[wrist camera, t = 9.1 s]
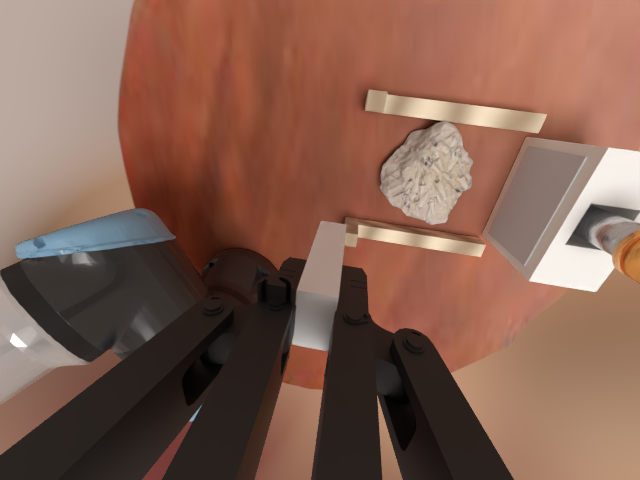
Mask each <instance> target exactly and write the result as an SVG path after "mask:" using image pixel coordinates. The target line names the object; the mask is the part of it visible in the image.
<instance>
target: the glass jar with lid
mask: <svg viewBox="0 0 640 480" xmlns="http://www.w3.org/2000/svg"><path fill="white" fill-rule="evenodd" d="M573 234H574V235H576V236H578V237H580V238H582V239H583V240H585V241H587V242H589V243H590V244H592V245H594V246H596V247H598V248H599V249H601V250H603V251H605V252H607V253H608V254H610V255H612V263H613V265H614V267H615V268H616V269H617V270H618V271H619V272H621V273H622V274H624V275H626V276H627V277H629V278H631V279H633V280H634V281H636V282H638V283H640V223H637V222H635V221H632V220H630V219H627V218H625V217H622V216H619V215H617V214H614V213H612V212H609V211H607V210H604V209H601V208H599V207H596V206H594V205H590V206H589V208H588V209H587V211H586V212H585V214H584V216H583V217H582V219H581V220H580V222H579V223H578V225H577V227H576V228H575V230H574V231H573Z"/></svg>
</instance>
